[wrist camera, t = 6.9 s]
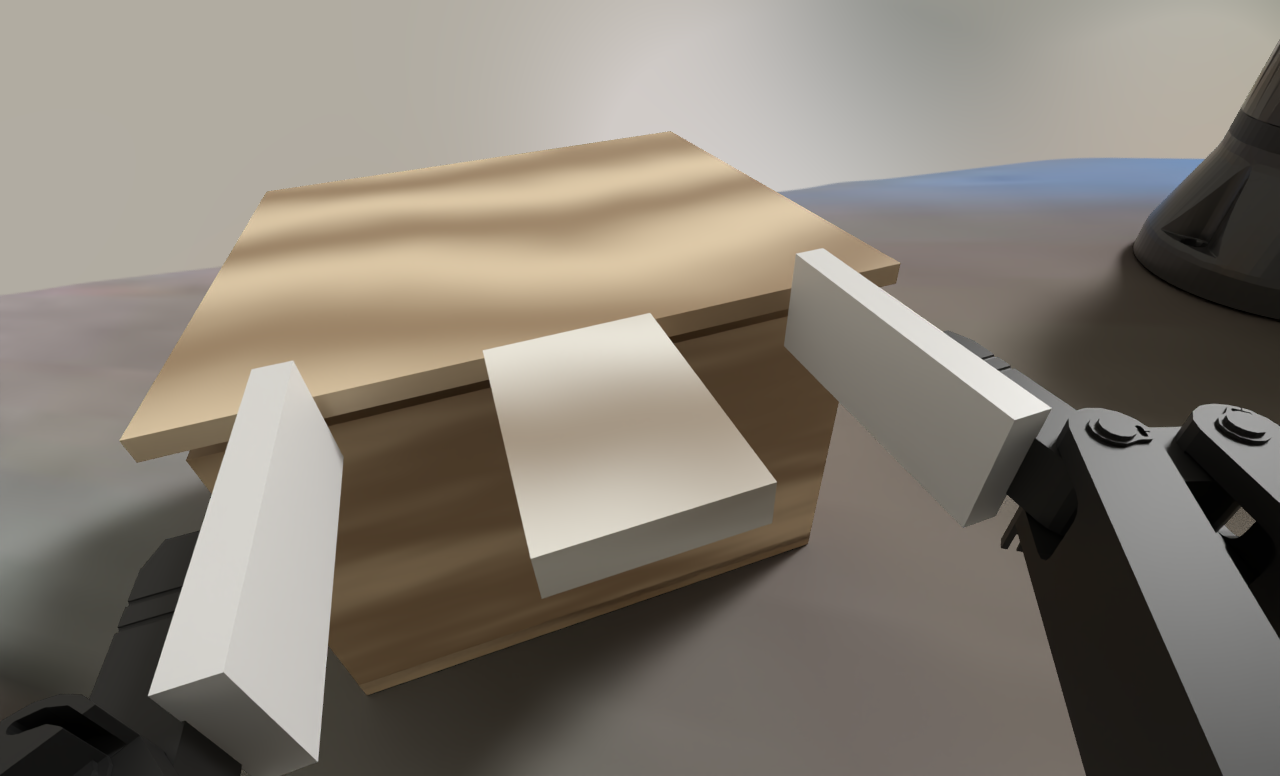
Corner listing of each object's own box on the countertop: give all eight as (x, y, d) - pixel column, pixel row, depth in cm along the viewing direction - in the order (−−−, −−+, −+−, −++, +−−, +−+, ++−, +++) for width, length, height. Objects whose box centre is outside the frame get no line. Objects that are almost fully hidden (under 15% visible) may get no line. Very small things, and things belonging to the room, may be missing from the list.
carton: (374, 419, 33) (282, 213, 25) (670, 347, 37) (667, 152, 29) (366, 695, 21) (186, 460, 13) (807, 543, 25) (861, 299, 17)
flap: (274, 210, 25) (264, 186, 24) (671, 148, 29) (670, 126, 29) (-18, 783, 7) (-81, 748, 7) (1094, 417, 11) (1116, 376, 11)
